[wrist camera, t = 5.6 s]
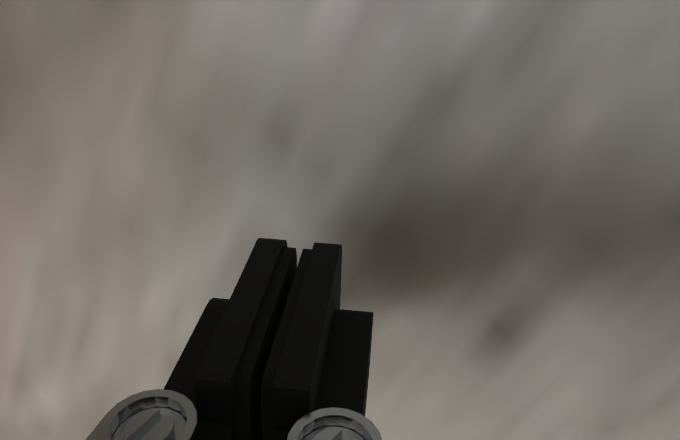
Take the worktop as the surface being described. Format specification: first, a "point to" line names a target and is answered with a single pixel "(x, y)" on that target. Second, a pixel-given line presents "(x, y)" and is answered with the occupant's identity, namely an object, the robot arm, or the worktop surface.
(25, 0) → the worktop surface
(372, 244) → the worktop surface
